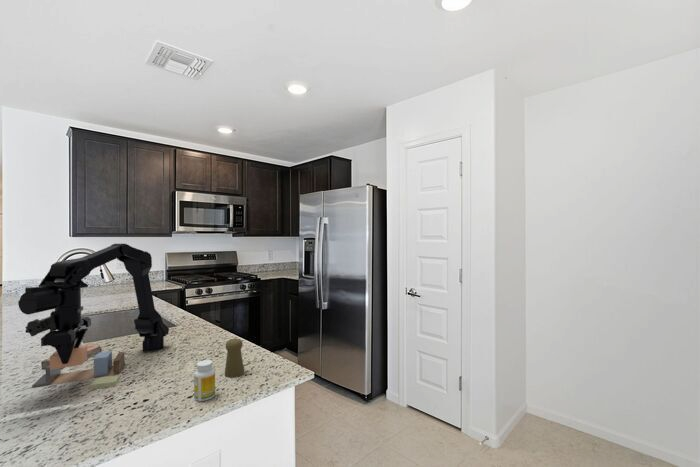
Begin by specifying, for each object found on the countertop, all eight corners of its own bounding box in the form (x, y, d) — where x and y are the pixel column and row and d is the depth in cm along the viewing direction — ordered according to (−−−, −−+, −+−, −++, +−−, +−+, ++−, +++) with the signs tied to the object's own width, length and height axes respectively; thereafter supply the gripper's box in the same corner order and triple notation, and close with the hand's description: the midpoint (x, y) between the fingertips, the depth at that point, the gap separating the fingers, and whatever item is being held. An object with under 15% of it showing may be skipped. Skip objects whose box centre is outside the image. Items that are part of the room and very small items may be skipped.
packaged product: (84, 342, 124) (106, 343, 122) (84, 354, 124) (107, 356, 122) (31, 360, 106) (56, 362, 105) (31, 375, 106) (56, 377, 105)
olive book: (120, 384, 99) (120, 375, 99) (115, 390, 95) (115, 381, 95) (97, 387, 97) (96, 378, 97) (90, 394, 93) (90, 385, 93)
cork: (248, 370, 107) (247, 337, 107) (236, 378, 102) (235, 343, 102) (233, 368, 109) (232, 335, 109) (220, 376, 104) (219, 341, 103)
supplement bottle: (190, 401, 88) (189, 366, 88) (201, 391, 94) (200, 358, 94) (208, 402, 88) (208, 367, 88) (219, 392, 93) (218, 359, 93)
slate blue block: (112, 367, 108) (111, 350, 108) (107, 374, 103) (107, 357, 103) (99, 369, 107) (99, 352, 107) (94, 376, 101) (93, 358, 101)
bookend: (60, 373, 103) (60, 358, 103) (50, 384, 96) (49, 367, 96) (44, 376, 102) (43, 360, 102) (32, 387, 95) (32, 370, 94)
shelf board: (124, 367, 111) (124, 351, 111) (119, 377, 103) (118, 360, 103) (42, 380, 102) (42, 362, 102) (29, 392, 94) (29, 373, 94)
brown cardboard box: (87, 357, 97) (87, 346, 97) (82, 364, 92) (82, 352, 92) (56, 362, 94) (56, 350, 94) (49, 369, 89) (49, 357, 89)
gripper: (45, 302, 98) (46, 353, 98) (13, 316, 81) (14, 379, 81) (91, 298, 102) (92, 347, 103) (70, 311, 86) (71, 370, 86)
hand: (69, 359), depth 93 cm, fingers closed on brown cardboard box, 6 cm apart
